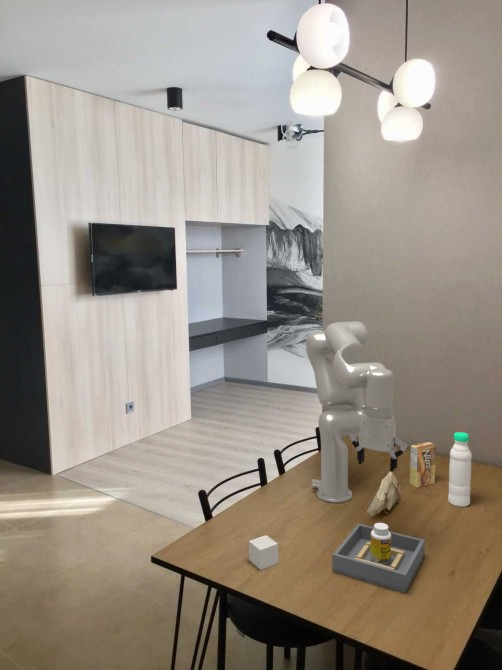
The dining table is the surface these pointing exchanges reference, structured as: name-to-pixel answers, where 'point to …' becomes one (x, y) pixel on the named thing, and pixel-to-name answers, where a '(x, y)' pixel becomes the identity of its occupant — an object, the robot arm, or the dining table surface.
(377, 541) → the supplement bottle
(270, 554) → the white cube
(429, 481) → the candy box
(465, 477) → the water bottle
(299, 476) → the dining table surface
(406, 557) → the walled box
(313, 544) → the dining table surface
